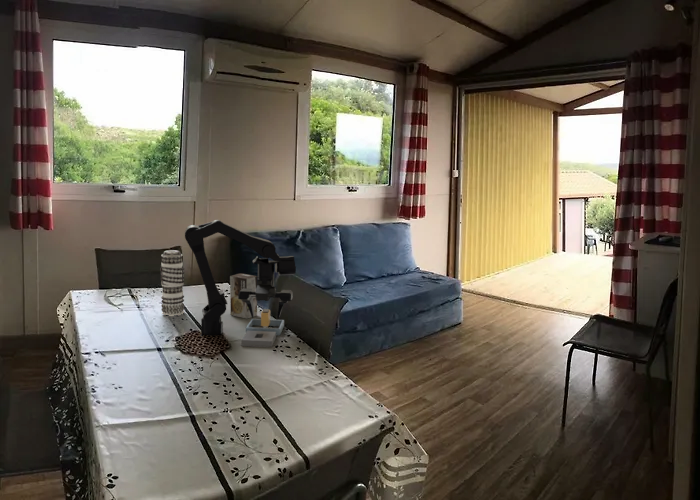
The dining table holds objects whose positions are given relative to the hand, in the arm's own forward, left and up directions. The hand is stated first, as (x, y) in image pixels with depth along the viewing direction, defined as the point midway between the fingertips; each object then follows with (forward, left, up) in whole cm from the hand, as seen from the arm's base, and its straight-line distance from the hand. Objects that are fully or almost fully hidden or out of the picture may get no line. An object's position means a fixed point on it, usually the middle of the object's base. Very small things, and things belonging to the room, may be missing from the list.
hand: (265, 317), depth 194 cm
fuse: (0, 0, -5) cm, 5 cm away
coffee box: (-12, +20, -6) cm, 24 cm away
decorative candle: (-40, +19, -5) cm, 45 cm away
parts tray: (0, 0, -5) cm, 5 cm away
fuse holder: (0, -13, -5) cm, 14 cm away
